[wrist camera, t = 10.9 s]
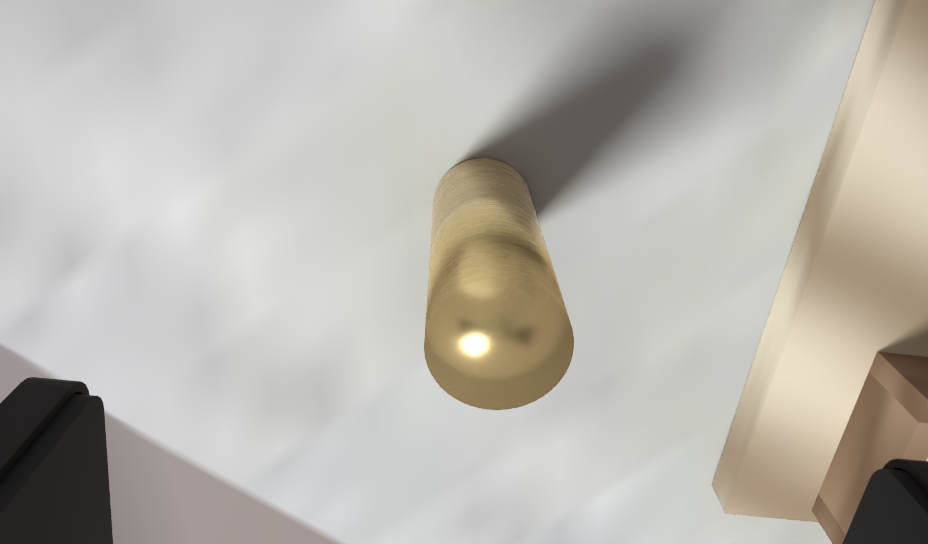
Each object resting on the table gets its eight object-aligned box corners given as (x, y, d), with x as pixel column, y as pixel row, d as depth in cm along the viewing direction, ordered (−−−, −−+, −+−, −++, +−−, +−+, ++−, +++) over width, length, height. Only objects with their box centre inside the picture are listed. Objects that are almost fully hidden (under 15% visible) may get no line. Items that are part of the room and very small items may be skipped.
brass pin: (439, 151, 18) (433, 270, 11) (538, 163, 18) (587, 288, 11) (428, 244, 19) (417, 401, 12) (522, 255, 19) (559, 416, 12)
